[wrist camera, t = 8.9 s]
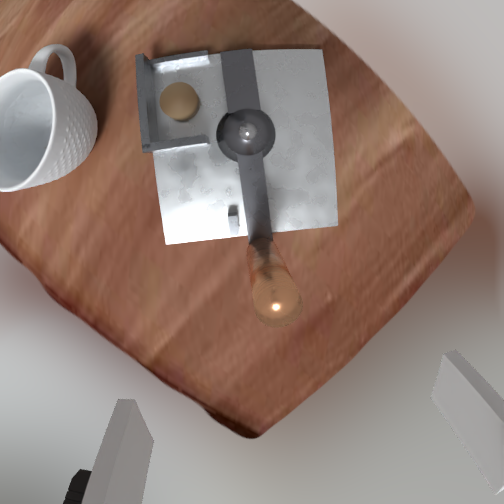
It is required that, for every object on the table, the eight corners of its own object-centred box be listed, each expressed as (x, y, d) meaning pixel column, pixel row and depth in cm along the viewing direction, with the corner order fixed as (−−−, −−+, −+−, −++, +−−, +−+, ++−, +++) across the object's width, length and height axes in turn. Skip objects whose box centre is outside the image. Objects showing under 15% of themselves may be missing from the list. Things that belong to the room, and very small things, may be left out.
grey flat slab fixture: (150, 70, 30) (135, 55, 24) (317, 54, 30) (332, 37, 25) (169, 239, 36) (158, 255, 30) (332, 222, 36) (350, 234, 31)
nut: (163, 93, 29) (156, 87, 26) (196, 85, 29) (193, 78, 26) (169, 125, 30) (162, 121, 27) (203, 116, 30) (200, 112, 27)
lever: (214, 61, 28) (202, 3, 15) (257, 56, 28) (273, -4, 15) (242, 265, 34) (249, 332, 21) (283, 259, 34) (312, 322, 21)
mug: (50, 64, 28) (-12, 40, 16) (125, 57, 29) (78, 17, 17) (35, 177, 32) (-33, 191, 20) (108, 180, 33) (50, 195, 21)
